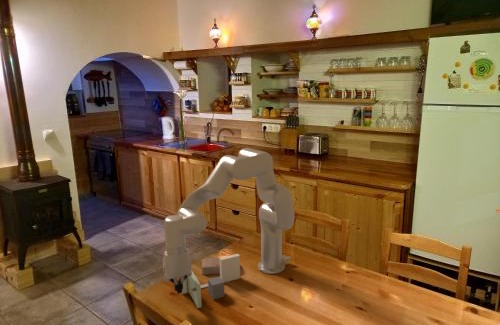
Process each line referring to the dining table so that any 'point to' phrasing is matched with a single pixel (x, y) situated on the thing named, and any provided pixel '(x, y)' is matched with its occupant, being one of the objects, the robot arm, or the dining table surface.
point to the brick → (211, 266)
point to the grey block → (216, 287)
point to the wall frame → (224, 270)
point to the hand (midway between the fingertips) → (179, 291)
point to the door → (194, 289)
